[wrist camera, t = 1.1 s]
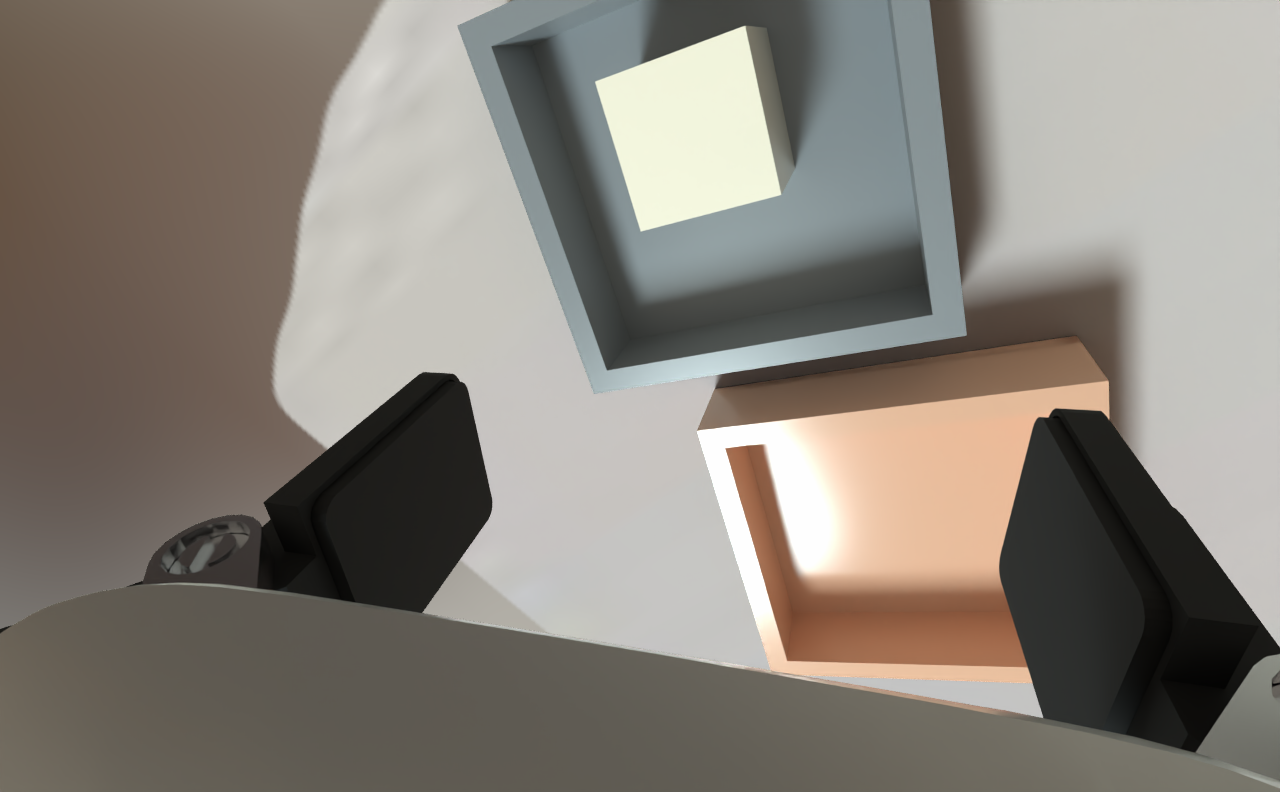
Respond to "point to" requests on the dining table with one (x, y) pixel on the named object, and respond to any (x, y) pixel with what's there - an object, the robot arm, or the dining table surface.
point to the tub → (888, 506)
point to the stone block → (700, 128)
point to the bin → (744, 235)
